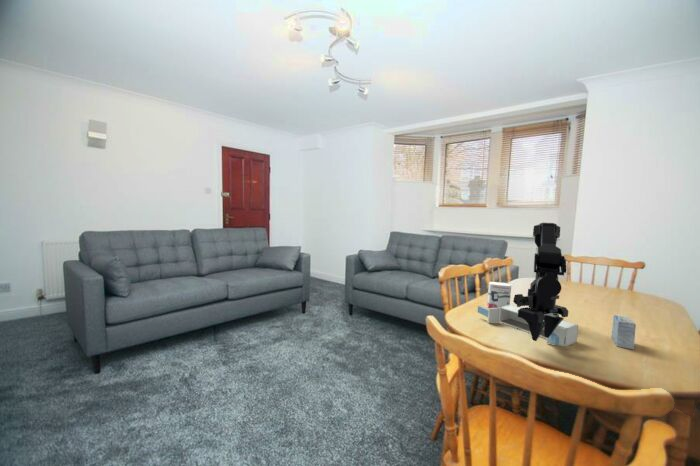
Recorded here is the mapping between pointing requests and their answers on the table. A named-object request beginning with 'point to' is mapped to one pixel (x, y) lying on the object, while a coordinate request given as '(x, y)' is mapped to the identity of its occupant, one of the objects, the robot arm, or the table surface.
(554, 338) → the flap
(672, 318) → the table surface
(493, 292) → the ink box
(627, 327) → the medicine box
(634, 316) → the table surface
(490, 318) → the flap
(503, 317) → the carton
